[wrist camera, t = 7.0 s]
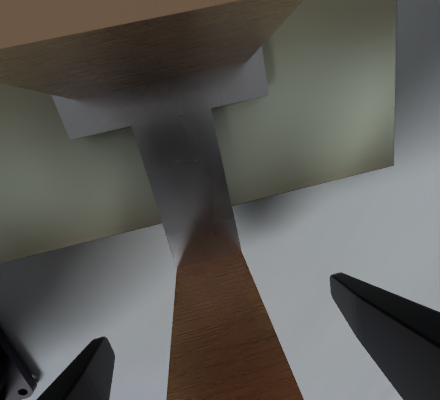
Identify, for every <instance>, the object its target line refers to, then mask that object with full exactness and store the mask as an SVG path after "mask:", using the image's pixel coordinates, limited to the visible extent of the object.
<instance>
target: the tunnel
mask: <svg viewBox="0 0 440 400" xmlns="http://www.w3.org/2000/svg"><path fill="white" fill-rule="evenodd" d="M396 7H397V0H304V1H303V2H302V3H301V4H300V5H299V6H298V7H297V8H296V9H295V10H294V11H293V12H292V14H291V15H290V16H289V17H288V18H287V19H286V20H285V21H284V22H283V23H282V24H281V25H280V27H279V28H278V29H277V30H276V31H275V32H274V33H273V34H272V35H271V36H270V37H269V38H268V40H267V41H266V42H265V43H264V44H263V45H262V51H263V58H264V65H265V72H266V80H267V87H268V94H269V95H267V96H265V97H262V98H258V99H254V100H250V101H245V102H241V103H236V104H232V105H227V106H223V107H218V108H214V109H211V111H212V116H213V121H214V125H215V130H216V135H217V139H218V144H219V149H220V153H221V158H222V163H223V167H224V172H225V177H226V182H227V186H228V191H229V196H230V200H231V205H232V206H233V205H237V204H241V203H245V202H249V201H253V200H257V199H261V198H265V197H269V196H273V195H277V194H281V193H285V192H289V191H293V190H297V189H301V188H305V187H309V186H313V185H317V184H321V183H325V182H329V181H333V180H337V179H341V178H345V177H349V176H353V175H357V174H361V173H365V172H369V171H374V170H378V169H382V168H386V167H390V166H394V116H395V62H396ZM161 223H162V220H161V217H160V214H159V211H158V208H157V205H156V202H155V198H154V195H153V192H152V189H151V186H150V183H149V180H148V177H147V173H146V170H145V167H144V164H143V161H142V158H141V155H140V152H139V149H138V145H137V142H136V139H135V136H134V133H133V130H132V127H130V128H125V129H121V130H117V131H112V132H108V133H103V134H99V135H94V136H90V137H86V138H81V139H73V140H70V139H69V137H68V135H67V132H66V130H65V127H64V125H63V122H62V120H61V117H60V115H59V112H58V110H57V108H56V105H55V103H54V100H53V98H52V95H50V94H46V93H42V92H37V91H33V90H28V89H24V88H19V87H15V86H10V85H6V84H1V83H0V263H4V262H8V261H12V260H16V259H20V258H24V257H28V256H32V255H36V254H40V253H44V252H48V251H52V250H56V249H60V248H64V247H68V246H72V245H76V244H80V243H84V242H88V241H92V240H96V239H100V238H104V237H108V236H112V235H117V234H121V233H125V232H129V231H133V230H137V229H141V228H145V227H149V226H153V225H157V224H161Z"/></svg>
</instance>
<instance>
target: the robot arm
mask: <svg viewBox="0 0 440 400" xmlns="http://www.w3.org/2000/svg"><path fill="white" fill-rule="evenodd" d="M330 287H331V295H332V297H333V299H334V301H335V303H336V304H337V306H338V308H339V309H340V311H341V313H342V314H343V316H344V317H345V319H346V321H347V322H348V324H349V326H350V327H351V329H352V331H353V332H354V334H355V335H356V337H357V338H358V340H359V341H360V342H361V344H362V345H363V347H364V348H365V349H366V351H367V352H368V353H369V355H370V356H371V357H372V359H373V360H374V361H375V363H376V364H377V365H378V367H379V368H380V369H381V371H382V372H383V373H384V374H385V376H386V377H387V378H388V380H389V381H390V382H391V384H392V385H393V386H394V388H395V389H396V390H397V392H398V393H399V394H400V396H401V397H402V398H403V400H440V312H438V311H435V310H433V309H430V308H428V307H425V306H423V305H421V304H418V303H416V302H413V301H411V300H408V299H406V298H403V297H401V296H398V295H396V294H393V293H391V292H388V291H386V290H383V289H381V288H378V287H376V286H373V285H371V284H369V283H366V282H364V281H361V280H359V279H356V278H354V277H351V276H349V275H346V274H344V273H336V274H333V275H331V276H330ZM114 361H115V355H114V351H113V349H112V347H111V345H110V343H109V341H108V339H107V338H106V337H100V338H96V339H94V340H92V341H91V342H90V343H89V344H88V345H87V347H86V348H85V349H84V350H83V351H82V352H81V353H80V354H79V355H78V356H77V357H76V358H75V359H74V360H73V361H72V362H71V364H70V365H69V366H68V367H67V368H66V369H65V370H64V371H63V372H62V373H61V374H60V375H59V376H58V377H57V378H56V380H55V381H54V382H53V383H52V384H51V385H50V386H49V387H48V388H47V389H46V390H45V391H44V392H43V393H42V394H41V395H40V397H39V398H38V399H37V400H109V398H110V390H111V383H112V376H113V369H114ZM36 386H37V384H36V382H35V380H34V379H33V377H32V376H31V374H30V373H29V371H28V370H27V368H26V367H25V365H24V364H23V362H22V361H21V359H20V358H19V356H18V355H17V353H16V351H15V350H14V348H13V347H12V345H11V344H10V342H9V341H8V339H7V338H6V336H5V335H4V333H3V332H2V330H1V329H0V400H22V399H25V398H28V397H30V396H31V395H32V394H33V392H34V390H35V389H36Z"/></svg>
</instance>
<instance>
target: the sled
mask: <svg viewBox="0 0 440 400" xmlns="http://www.w3.org/2000/svg"><path fill="white" fill-rule="evenodd" d="M303 1H304V0H0V83H1V84H6V85H10V86H15V87H19V88H24V89H28V90H33V91H37V92H42V93H46V94H50V95H52V98H53V100H54V103H55V105H56V108H57V110H58V112H59V115H60V117H61V120H62V122H63V125H64V127H65V130H66V132H67V135H68V137H69V139H70V140H73V139H81V138H86V137H90V136H94V135H99V134H103V133H108V132H112V131H117V130H121V129H125V128H130V127H132V130H133V133H134V136H135V139H136V142H137V145H138V149H139V152H140V155H141V158H142V161H143V164H144V167H145V170H146V173H147V177H148V180H149V183H150V186H151V189H152V192H153V195H154V198H155V202H156V205H157V208H158V211H159V214H160V217H161V220H162V223H163V226H164V230H165V233H166V236H167V239H168V242H169V245H170V248H171V251H172V254H173V258H174V261H175V264H176V267H177V274H176V287H175V299H174V312H173V325H172V337H171V350H170V362H169V375H168V387H167V400H304V399H303V397H302V394H301V392H300V390H299V387H298V385H297V383H296V380H295V378H294V375H293V373H292V371H291V368H290V366H289V364H288V361H287V359H286V356H285V354H284V352H283V349H282V347H281V344H280V342H279V340H278V337H277V335H276V333H275V330H274V328H273V325H272V323H271V321H270V318H269V316H268V314H267V311H266V309H265V306H264V304H263V302H262V299H261V297H260V295H259V292H258V290H257V287H256V285H255V283H254V280H253V278H252V276H251V273H250V271H249V268H248V266H247V264H246V261H245V259H244V257H243V254H242V252H241V247H240V242H239V238H238V233H237V228H236V224H235V219H234V214H233V210H232V205H231V200H230V196H229V191H228V186H227V182H226V177H225V172H224V167H223V163H222V158H221V153H220V149H219V144H218V139H217V135H216V130H215V125H214V121H213V116H212V111H211V109H214V108H218V107H223V106H227V105H232V104H236V103H241V102H245V101H250V100H254V99H258V98H262V97H265V96H267V95H269V94H268V87H267V80H266V72H265V65H264V58H263V51H262V45H263V44H264V43H265V42H266V41H267V40H268V38H269V37H270V36H271V35H272V34H273V33H274V32H275V31H276V30H277V29H278V28H279V27H280V25H281V24H282V23H283V22H284V21H285V20H286V19H287V18H288V17H289V16H290V15H291V14H292V12H293V11H294V10H295V9H296V8H297V7H298V6H299V5H300V4H301V3H302V2H303Z"/></svg>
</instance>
